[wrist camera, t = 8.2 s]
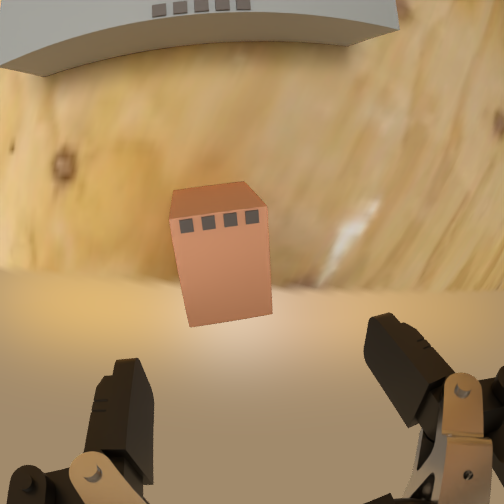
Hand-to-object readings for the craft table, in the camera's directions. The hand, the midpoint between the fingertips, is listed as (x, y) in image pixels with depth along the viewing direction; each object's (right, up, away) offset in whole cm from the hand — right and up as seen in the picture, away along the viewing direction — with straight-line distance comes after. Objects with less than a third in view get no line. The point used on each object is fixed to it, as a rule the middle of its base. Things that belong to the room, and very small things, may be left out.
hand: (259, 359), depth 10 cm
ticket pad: (-4, +21, +3) cm, 21 cm away
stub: (-3, +5, +11) cm, 12 cm away
